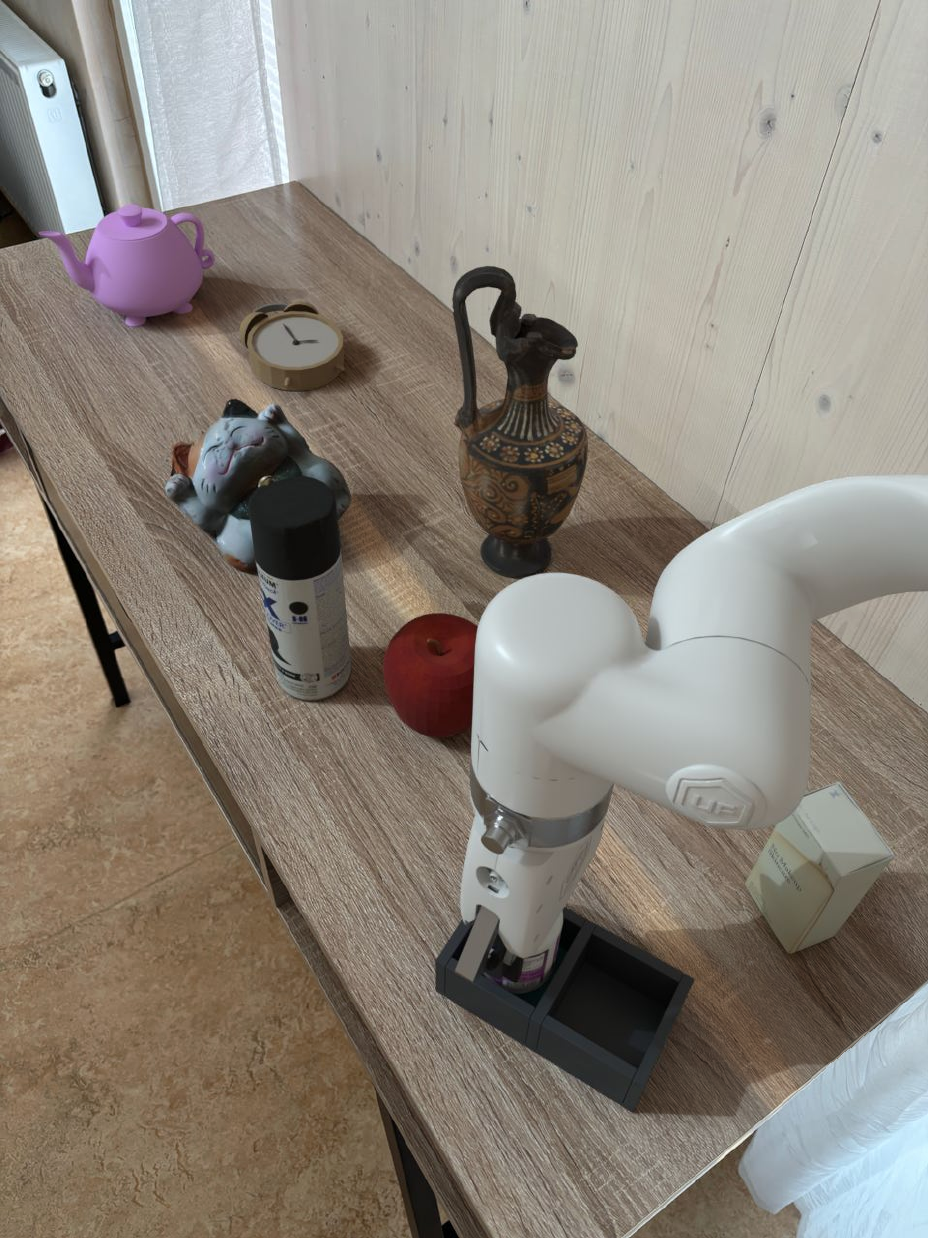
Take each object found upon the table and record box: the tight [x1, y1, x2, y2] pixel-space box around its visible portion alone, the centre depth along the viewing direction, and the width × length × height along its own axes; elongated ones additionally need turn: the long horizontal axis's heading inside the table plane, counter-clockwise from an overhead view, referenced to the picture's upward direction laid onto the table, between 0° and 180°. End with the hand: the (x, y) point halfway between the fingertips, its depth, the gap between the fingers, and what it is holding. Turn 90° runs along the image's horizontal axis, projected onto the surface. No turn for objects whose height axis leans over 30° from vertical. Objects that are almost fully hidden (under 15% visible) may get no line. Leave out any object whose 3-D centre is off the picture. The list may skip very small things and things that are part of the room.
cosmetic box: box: [744, 781, 894, 955], centre depth 71 cm, size 6×4×12 cm
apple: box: [382, 612, 478, 738], centre depth 83 cm, size 10×10×10 cm
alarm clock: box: [238, 300, 346, 392], centre depth 121 cm, size 11×5×15 cm
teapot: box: [38, 204, 216, 327], centre depth 125 cm, size 20×14×12 cm
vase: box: [451, 265, 589, 579], centre depth 90 cm, size 12×12×30 cm
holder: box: [434, 906, 696, 1114], centre depth 69 cm, size 15×8×5 cm, turn 59°
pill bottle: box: [484, 911, 563, 994], centre depth 66 cm, size 5×5×10 cm
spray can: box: [248, 475, 352, 702], centre depth 82 cm, size 7×7×20 cm
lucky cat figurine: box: [164, 398, 352, 575], centre depth 98 cm, size 15×12×14 cm
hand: (520, 928), depth 66 cm, fingers closed on pill bottle, 5 cm apart
